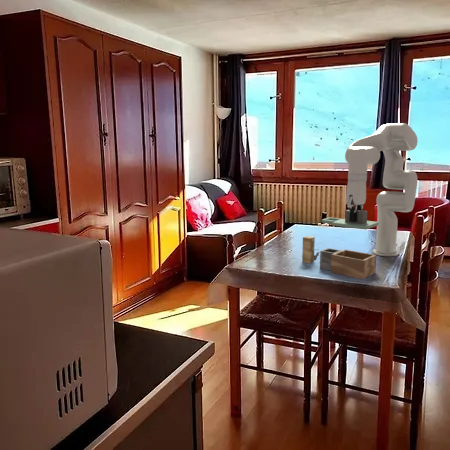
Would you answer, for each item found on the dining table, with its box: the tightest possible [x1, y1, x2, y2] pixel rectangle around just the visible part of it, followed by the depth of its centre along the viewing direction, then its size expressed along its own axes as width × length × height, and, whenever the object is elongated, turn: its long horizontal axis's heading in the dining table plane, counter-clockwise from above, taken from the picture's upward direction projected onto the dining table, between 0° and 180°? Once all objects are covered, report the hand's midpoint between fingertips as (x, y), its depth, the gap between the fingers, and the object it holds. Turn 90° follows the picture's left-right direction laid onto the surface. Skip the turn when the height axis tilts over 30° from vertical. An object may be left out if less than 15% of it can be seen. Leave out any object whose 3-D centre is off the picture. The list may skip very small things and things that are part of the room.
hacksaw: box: [314, 248, 320, 261], centre depth 221 cm, size 24×10×2 cm, turn 161°
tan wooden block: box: [301, 235, 316, 264], centre depth 205 cm, size 4×4×12 cm
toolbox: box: [319, 247, 377, 280], centre depth 190 cm, size 12×22×8 cm, turn 47°
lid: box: [321, 209, 379, 231], centre depth 186 cm, size 12×22×6 cm, turn 47°
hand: (355, 220), depth 184 cm, fingers closed on lid, 4 cm apart
